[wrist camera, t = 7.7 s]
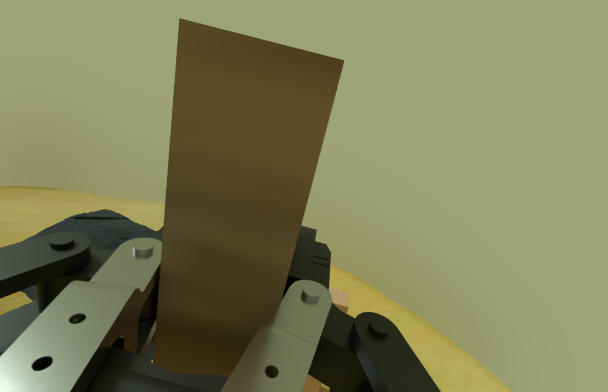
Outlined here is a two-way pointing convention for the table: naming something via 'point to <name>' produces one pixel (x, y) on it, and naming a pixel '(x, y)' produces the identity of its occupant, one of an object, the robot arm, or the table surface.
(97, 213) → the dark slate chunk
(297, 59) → the brown post on base
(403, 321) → the table surface
